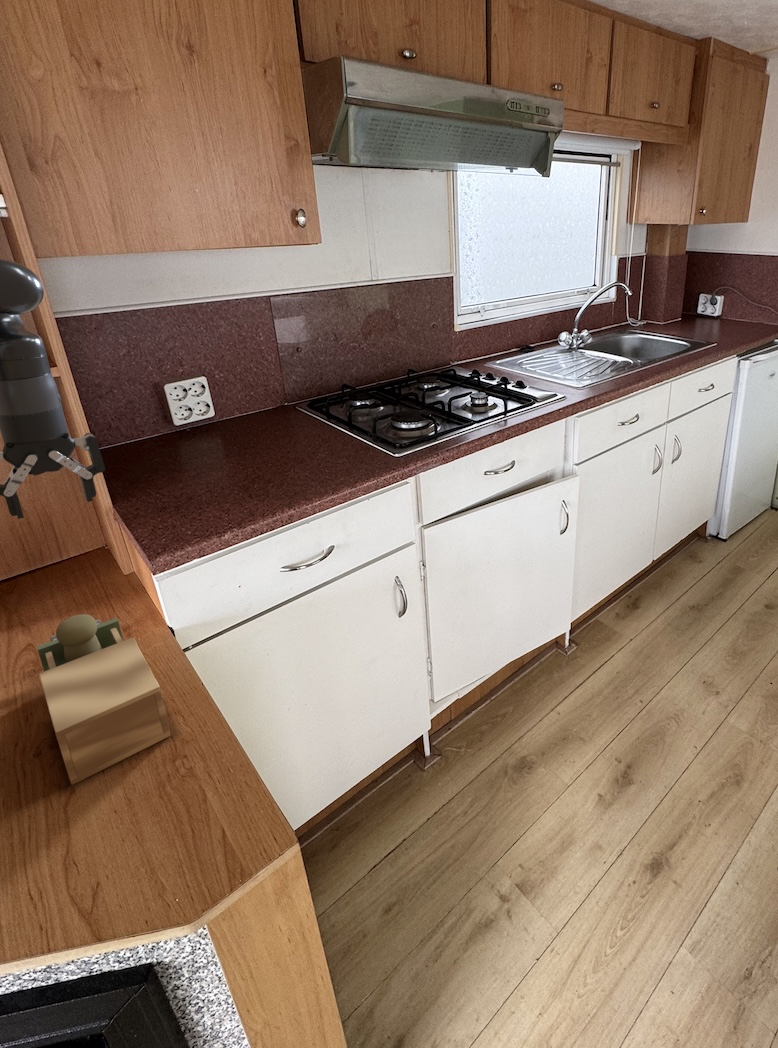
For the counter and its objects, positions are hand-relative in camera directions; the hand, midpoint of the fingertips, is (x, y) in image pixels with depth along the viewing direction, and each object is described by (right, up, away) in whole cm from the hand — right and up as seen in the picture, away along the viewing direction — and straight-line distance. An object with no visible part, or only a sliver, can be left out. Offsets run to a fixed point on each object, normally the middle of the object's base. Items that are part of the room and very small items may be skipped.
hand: (55, 508), depth 88 cm
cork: (+2, -28, +5) cm, 29 cm away
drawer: (+1, -29, +6) cm, 29 cm away
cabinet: (+10, -33, -2) cm, 34 cm away
